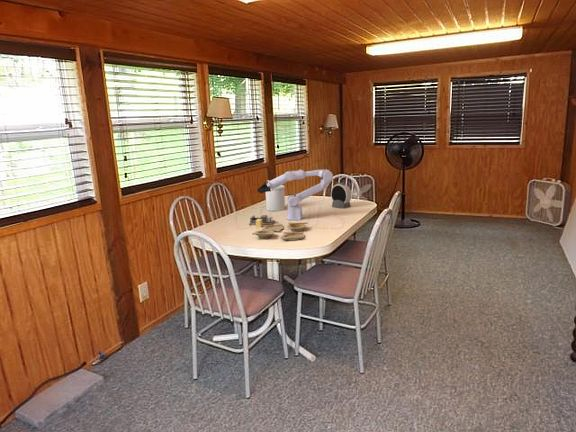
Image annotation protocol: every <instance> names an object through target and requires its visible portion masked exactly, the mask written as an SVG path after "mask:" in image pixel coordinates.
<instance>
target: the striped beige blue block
mask: <svg viewBox="0 0 576 432" xmlns="http://www.w3.org/2000/svg"><path fill="white" fill-rule="evenodd" d="M265 220H266V222H272V221H273V220H274V219H273V216H267V217H265Z"/></svg>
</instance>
